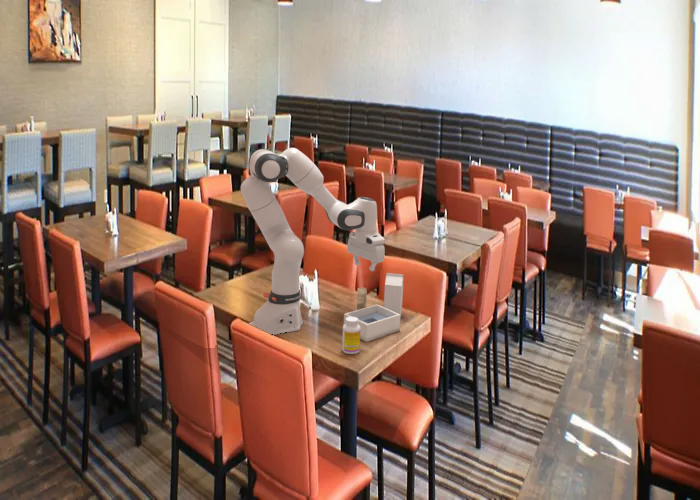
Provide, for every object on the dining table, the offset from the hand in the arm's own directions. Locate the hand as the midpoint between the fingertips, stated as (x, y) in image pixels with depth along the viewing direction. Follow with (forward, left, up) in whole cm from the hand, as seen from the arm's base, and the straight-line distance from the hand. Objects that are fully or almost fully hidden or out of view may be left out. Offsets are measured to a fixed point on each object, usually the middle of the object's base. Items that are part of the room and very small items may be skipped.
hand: (364, 267), depth 246 cm
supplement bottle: (-27, -24, -22) cm, 42 cm away
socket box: (-8, -14, -22) cm, 27 cm away
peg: (-1, 0, -22) cm, 22 cm away
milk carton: (+10, -8, -22) cm, 25 cm away
